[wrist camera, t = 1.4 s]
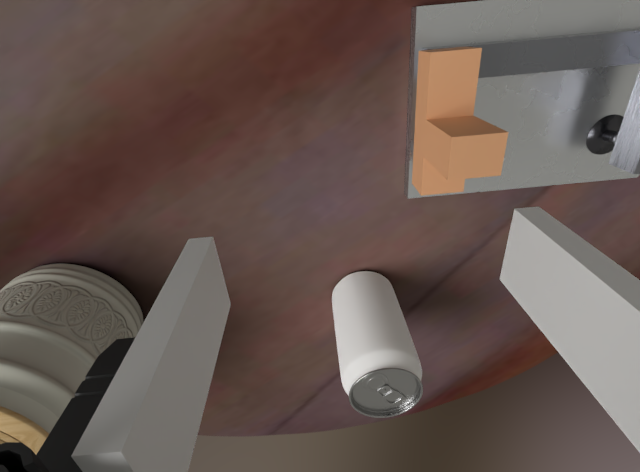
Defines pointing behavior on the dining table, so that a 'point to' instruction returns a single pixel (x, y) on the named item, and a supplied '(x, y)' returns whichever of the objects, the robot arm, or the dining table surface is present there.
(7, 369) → the jar
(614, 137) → the grey assembly fixture
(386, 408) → the can
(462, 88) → the orange t-shaped block
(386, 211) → the dining table surface
